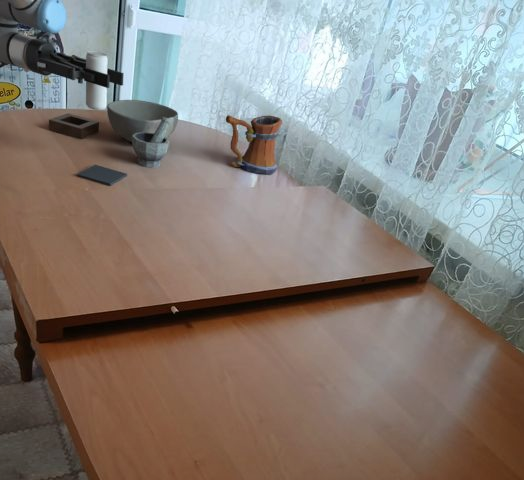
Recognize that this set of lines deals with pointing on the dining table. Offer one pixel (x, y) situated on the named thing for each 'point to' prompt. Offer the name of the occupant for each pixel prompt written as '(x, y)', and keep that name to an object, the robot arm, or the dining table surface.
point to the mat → (102, 175)
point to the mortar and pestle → (152, 145)
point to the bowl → (139, 117)
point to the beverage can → (95, 93)
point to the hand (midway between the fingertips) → (115, 80)
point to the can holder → (74, 126)
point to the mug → (256, 144)
